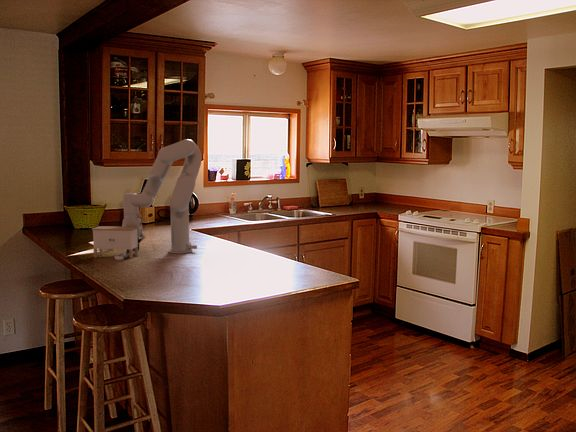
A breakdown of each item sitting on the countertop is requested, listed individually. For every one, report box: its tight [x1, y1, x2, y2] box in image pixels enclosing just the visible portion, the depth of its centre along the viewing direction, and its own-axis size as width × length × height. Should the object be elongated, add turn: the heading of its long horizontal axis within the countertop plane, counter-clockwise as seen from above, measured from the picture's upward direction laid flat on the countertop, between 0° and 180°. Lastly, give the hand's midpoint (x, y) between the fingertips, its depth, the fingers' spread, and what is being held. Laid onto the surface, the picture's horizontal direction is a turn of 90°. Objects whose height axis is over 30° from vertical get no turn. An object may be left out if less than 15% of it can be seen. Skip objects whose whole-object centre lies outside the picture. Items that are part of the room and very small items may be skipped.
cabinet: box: [91, 225, 139, 259], centre depth 293 cm, size 21×10×15 cm, turn 84°
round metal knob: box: [114, 254, 125, 262], centre depth 285 cm, size 4×4×2 cm
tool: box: [119, 248, 135, 259], centre depth 296 cm, size 4×17×7 cm, turn 174°
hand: (132, 250), depth 303 cm, fingers closed on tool, 4 cm apart
